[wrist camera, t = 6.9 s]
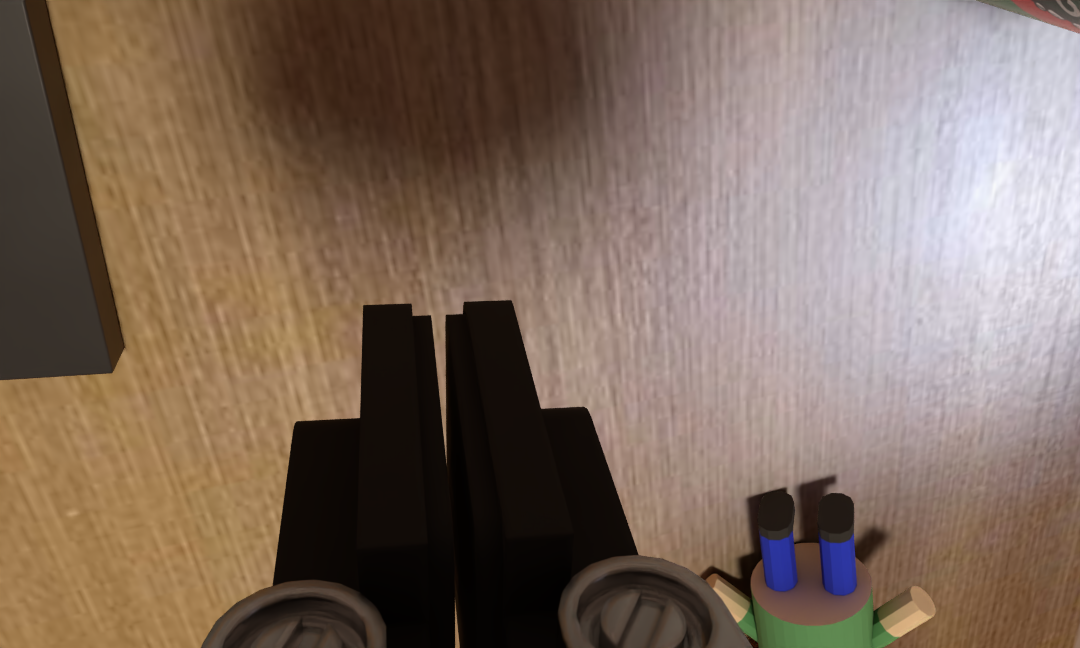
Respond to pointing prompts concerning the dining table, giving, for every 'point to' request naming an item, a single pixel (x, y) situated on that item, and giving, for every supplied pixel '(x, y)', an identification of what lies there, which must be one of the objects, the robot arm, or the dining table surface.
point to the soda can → (1044, 11)
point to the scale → (46, 217)
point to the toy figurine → (816, 586)
